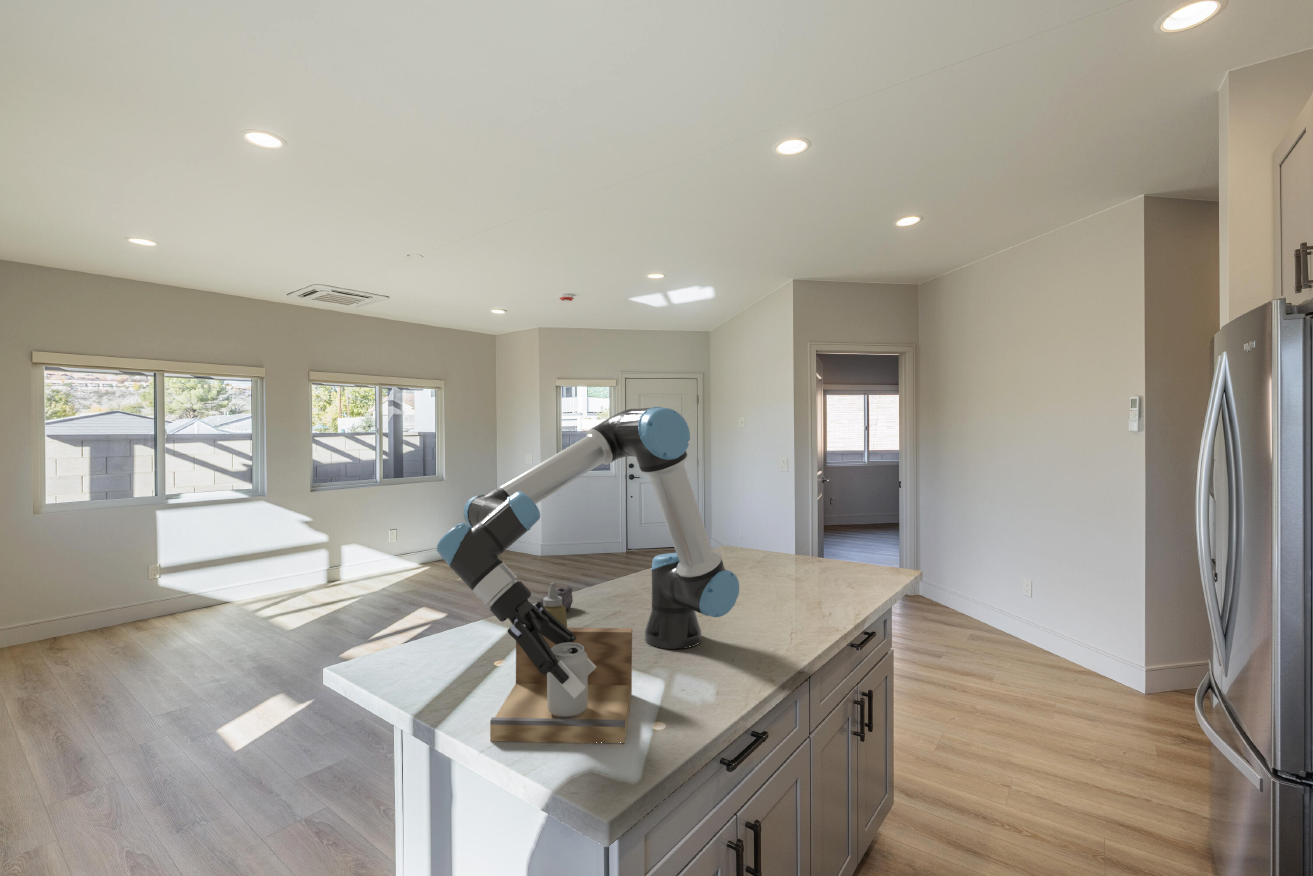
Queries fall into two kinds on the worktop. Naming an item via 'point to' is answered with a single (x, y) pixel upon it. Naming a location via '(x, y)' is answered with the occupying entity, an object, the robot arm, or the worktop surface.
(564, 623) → the squeeze bottle
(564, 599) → the perforated stone tool
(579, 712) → the can
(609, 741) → the wooden l-shaped piece
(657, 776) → the worktop surface
